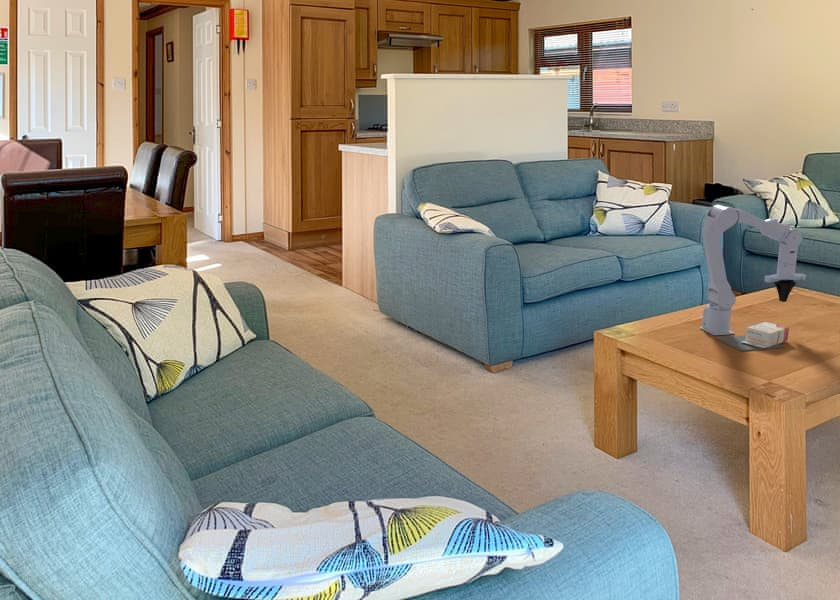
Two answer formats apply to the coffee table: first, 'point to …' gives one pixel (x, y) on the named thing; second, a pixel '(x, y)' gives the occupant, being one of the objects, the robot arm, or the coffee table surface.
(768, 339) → the ink cartridge box
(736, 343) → the mat
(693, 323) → the coffee table surface
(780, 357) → the coffee table surface
